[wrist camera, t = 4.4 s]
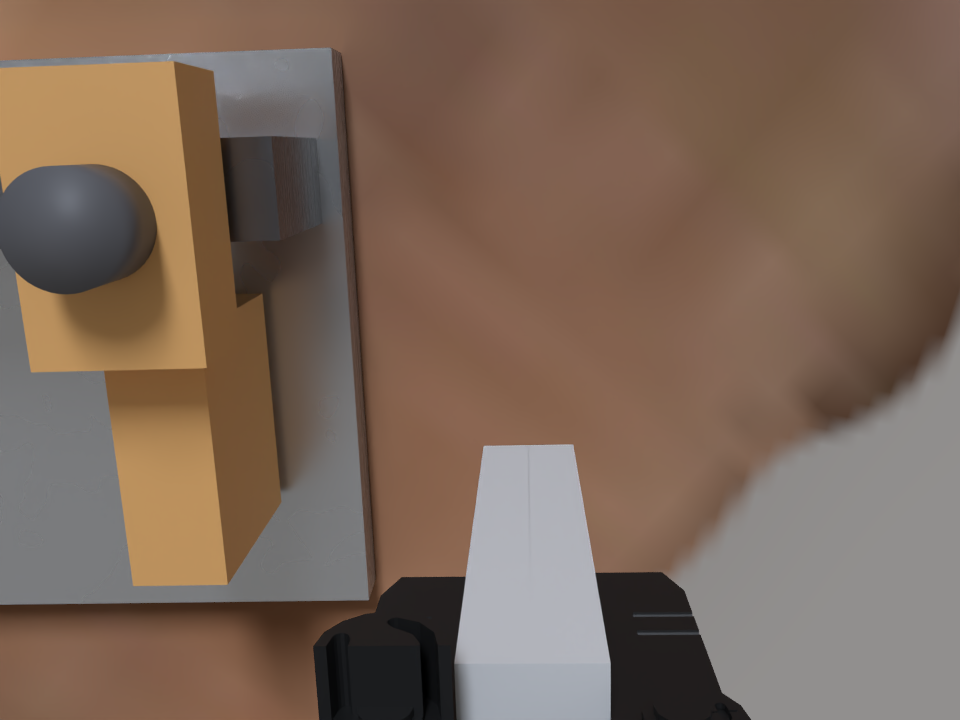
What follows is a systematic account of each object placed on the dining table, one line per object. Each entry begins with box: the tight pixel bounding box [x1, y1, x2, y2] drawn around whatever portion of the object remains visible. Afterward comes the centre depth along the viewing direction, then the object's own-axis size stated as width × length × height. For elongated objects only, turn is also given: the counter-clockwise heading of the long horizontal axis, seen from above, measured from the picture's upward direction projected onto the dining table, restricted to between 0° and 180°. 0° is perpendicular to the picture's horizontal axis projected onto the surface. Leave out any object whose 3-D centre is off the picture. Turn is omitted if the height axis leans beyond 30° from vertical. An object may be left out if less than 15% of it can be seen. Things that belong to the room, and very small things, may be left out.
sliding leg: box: [0, 61, 281, 586], centre depth 18 cm, size 3×11×7 cm, turn 2°
